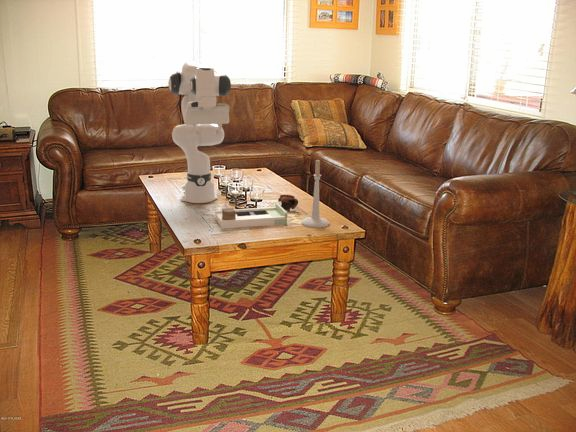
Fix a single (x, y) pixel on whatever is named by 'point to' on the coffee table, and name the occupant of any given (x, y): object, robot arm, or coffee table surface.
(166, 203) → the coffee table surface
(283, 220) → the box
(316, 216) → the candlestick
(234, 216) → the walnut block
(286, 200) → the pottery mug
